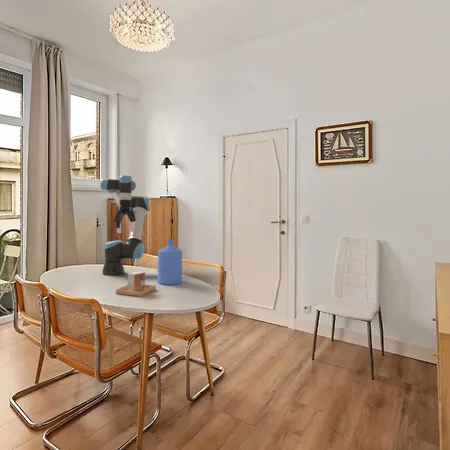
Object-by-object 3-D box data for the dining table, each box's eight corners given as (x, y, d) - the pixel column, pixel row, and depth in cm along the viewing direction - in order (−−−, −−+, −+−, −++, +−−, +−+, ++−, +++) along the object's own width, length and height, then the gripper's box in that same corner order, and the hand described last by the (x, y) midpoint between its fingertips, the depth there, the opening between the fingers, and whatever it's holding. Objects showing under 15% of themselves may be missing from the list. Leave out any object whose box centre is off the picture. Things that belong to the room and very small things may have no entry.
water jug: (177, 285, 205) (177, 241, 203) (153, 284, 208) (154, 240, 206) (185, 280, 220) (185, 238, 218) (163, 278, 223) (163, 237, 222)
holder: (132, 287, 200) (132, 282, 199) (155, 289, 195) (155, 285, 195) (116, 293, 184) (116, 289, 184) (141, 296, 180) (141, 292, 179)
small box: (134, 293, 185) (134, 274, 184) (127, 291, 188) (127, 273, 187) (145, 290, 191) (145, 272, 190) (138, 288, 194) (138, 270, 194)
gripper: (118, 199, 200) (118, 234, 201) (141, 200, 223) (140, 231, 225) (108, 199, 202) (108, 233, 203) (131, 199, 226) (131, 230, 227)
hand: (125, 232), depth 214 cm, fingers open, 13 cm apart
